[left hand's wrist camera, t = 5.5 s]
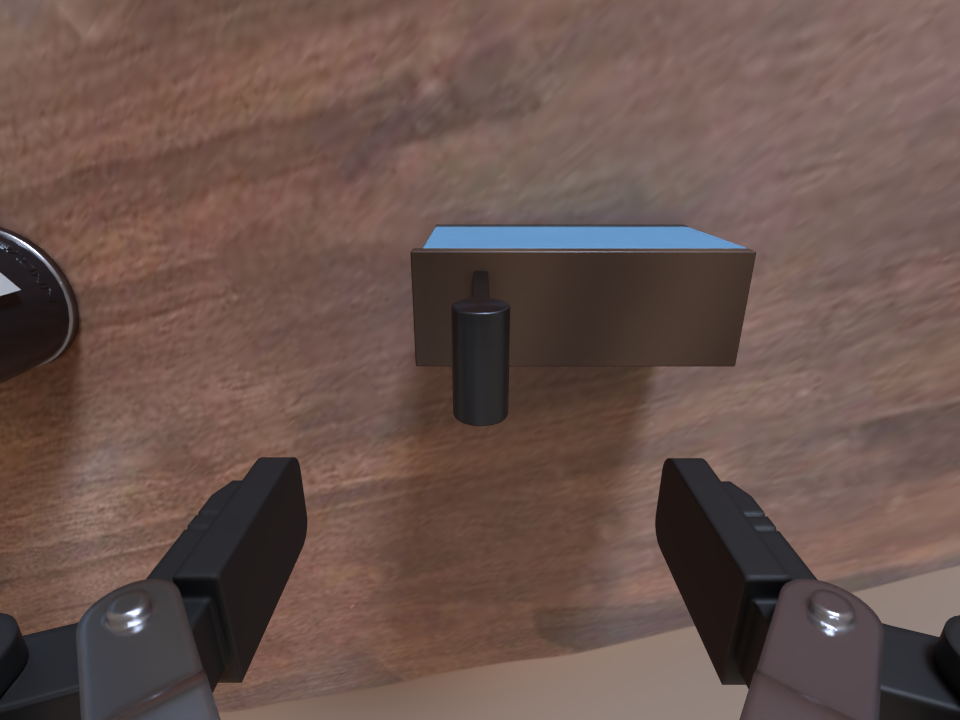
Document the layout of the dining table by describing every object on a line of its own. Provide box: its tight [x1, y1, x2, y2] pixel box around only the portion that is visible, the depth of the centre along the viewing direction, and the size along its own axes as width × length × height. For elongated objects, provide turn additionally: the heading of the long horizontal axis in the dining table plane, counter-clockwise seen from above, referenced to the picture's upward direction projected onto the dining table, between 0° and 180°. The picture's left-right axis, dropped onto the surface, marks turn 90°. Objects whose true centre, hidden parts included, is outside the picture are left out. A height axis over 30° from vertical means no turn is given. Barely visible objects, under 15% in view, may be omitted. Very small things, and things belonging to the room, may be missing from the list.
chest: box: [423, 225, 745, 248], centre depth 30 cm, size 15×6×9 cm, turn 90°
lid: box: [411, 248, 756, 426], centre depth 22 cm, size 16×6×8 cm, turn 90°
